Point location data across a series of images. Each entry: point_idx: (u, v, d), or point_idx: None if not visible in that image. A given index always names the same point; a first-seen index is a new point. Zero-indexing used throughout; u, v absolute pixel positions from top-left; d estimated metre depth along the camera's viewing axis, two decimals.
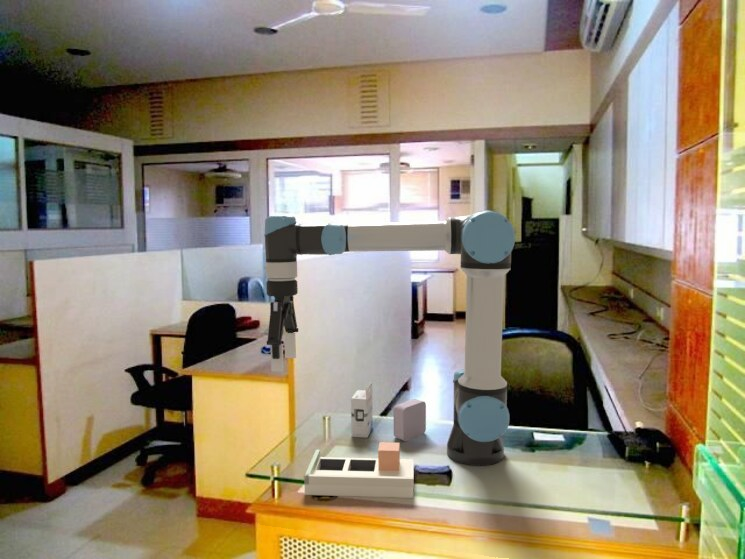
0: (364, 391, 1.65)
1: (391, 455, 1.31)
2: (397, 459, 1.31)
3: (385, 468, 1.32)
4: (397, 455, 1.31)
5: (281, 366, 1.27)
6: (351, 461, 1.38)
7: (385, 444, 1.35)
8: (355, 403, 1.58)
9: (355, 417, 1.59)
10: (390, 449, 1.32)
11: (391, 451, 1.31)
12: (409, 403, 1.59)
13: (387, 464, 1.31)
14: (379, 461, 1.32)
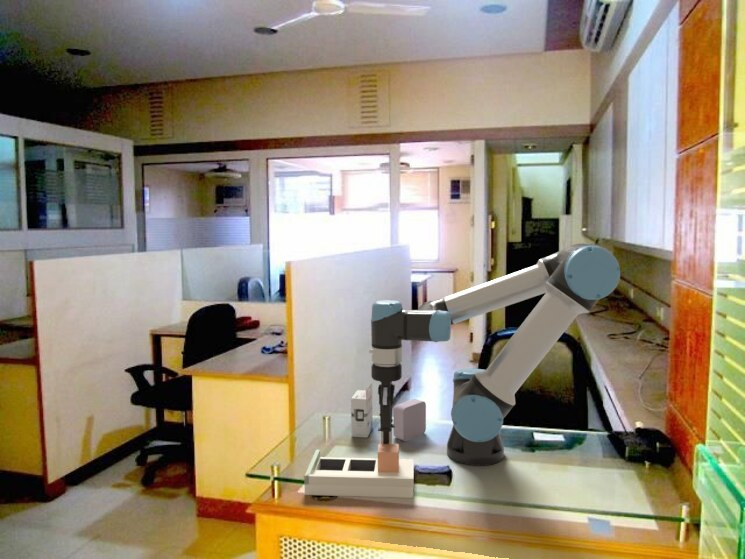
0: (364, 391, 1.65)
1: (391, 456, 1.30)
2: (396, 461, 1.30)
3: (384, 470, 1.31)
4: (396, 457, 1.30)
5: None
6: (351, 461, 1.38)
7: (384, 446, 1.34)
8: (355, 403, 1.58)
9: (355, 417, 1.59)
10: (390, 451, 1.31)
11: (391, 453, 1.30)
12: (409, 403, 1.59)
13: (387, 466, 1.31)
14: (378, 463, 1.31)
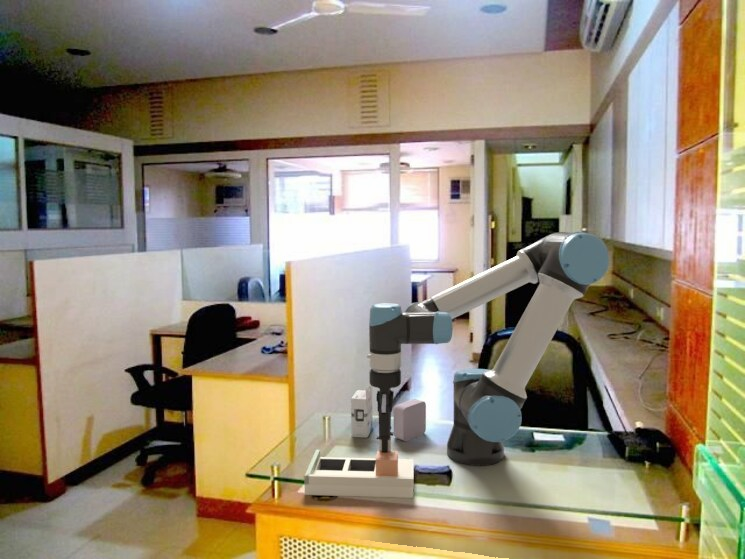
0: (364, 391, 1.65)
1: (389, 464, 1.26)
2: (395, 469, 1.26)
3: None
4: (395, 465, 1.26)
5: None
6: (351, 461, 1.38)
7: (383, 453, 1.30)
8: (355, 403, 1.58)
9: (355, 417, 1.59)
10: (388, 458, 1.26)
11: (389, 461, 1.26)
12: (409, 402, 1.59)
13: (385, 474, 1.26)
14: (376, 471, 1.26)
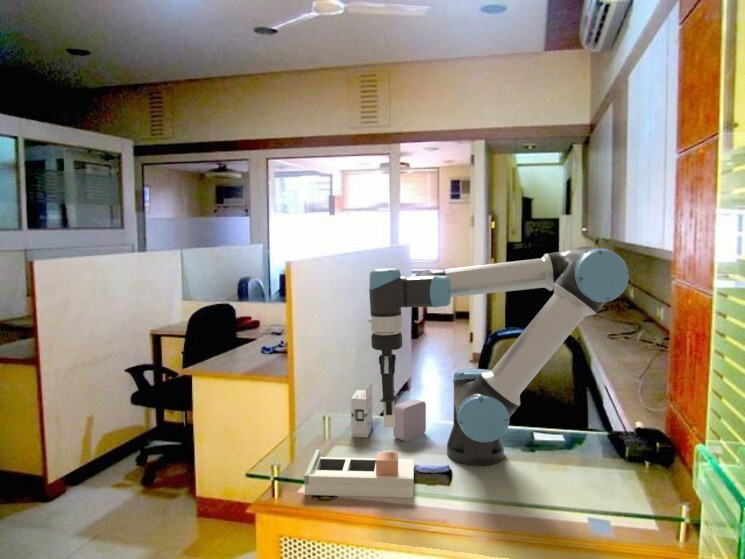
0: (364, 391, 1.65)
1: (390, 465, 1.26)
2: (396, 469, 1.26)
3: None
4: (396, 465, 1.26)
5: (393, 421, 1.33)
6: (351, 461, 1.38)
7: (383, 453, 1.29)
8: (355, 403, 1.58)
9: (355, 417, 1.59)
10: (388, 459, 1.26)
11: (390, 461, 1.26)
12: (409, 403, 1.59)
13: (385, 474, 1.26)
14: (377, 471, 1.26)
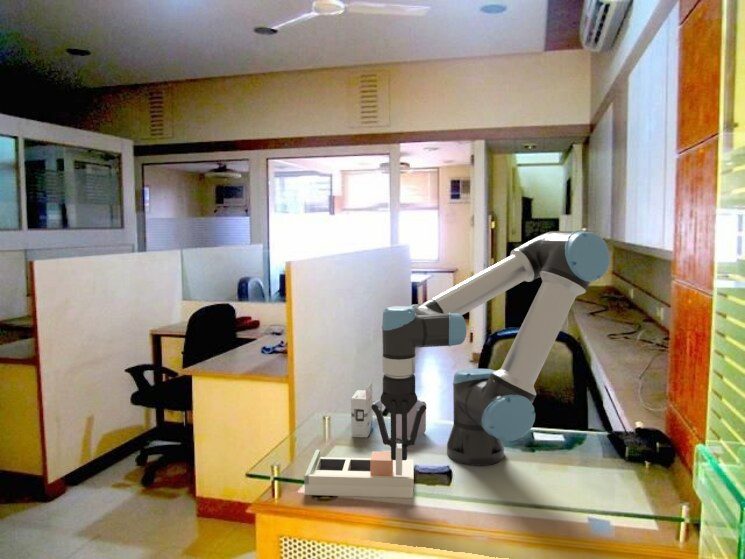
0: (364, 391, 1.65)
1: (384, 465, 1.26)
2: (390, 469, 1.26)
3: None
4: (390, 465, 1.26)
5: None
6: (351, 461, 1.38)
7: (378, 453, 1.29)
8: (355, 403, 1.58)
9: (355, 417, 1.59)
10: (383, 459, 1.26)
11: (384, 461, 1.26)
12: None
13: (380, 474, 1.26)
14: (371, 471, 1.26)
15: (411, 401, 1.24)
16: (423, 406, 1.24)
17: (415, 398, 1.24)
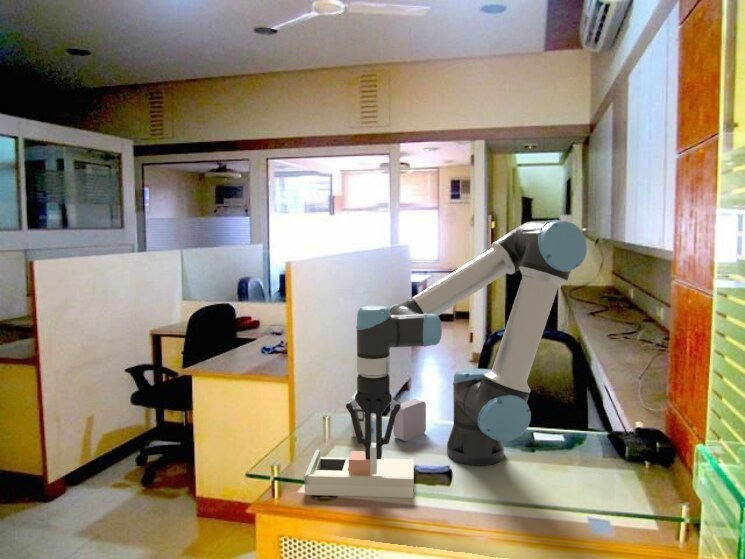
0: None
1: (362, 464, 1.26)
2: (368, 469, 1.26)
3: None
4: (368, 465, 1.26)
5: (370, 468, 1.26)
6: None
7: (357, 453, 1.30)
8: None
9: None
10: (361, 458, 1.27)
11: (362, 461, 1.26)
12: (409, 403, 1.59)
13: (358, 474, 1.26)
14: (350, 471, 1.26)
15: (385, 400, 1.24)
16: (397, 405, 1.24)
17: (389, 397, 1.24)
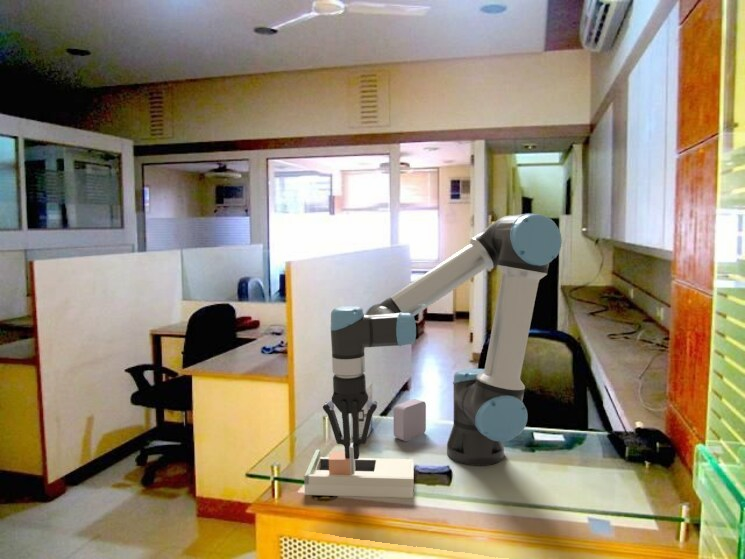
0: None
1: (342, 464, 1.26)
2: (348, 468, 1.26)
3: None
4: (348, 464, 1.26)
5: (350, 468, 1.27)
6: None
7: (337, 453, 1.30)
8: None
9: None
10: (341, 458, 1.27)
11: (342, 460, 1.26)
12: (409, 403, 1.59)
13: (339, 473, 1.27)
14: (330, 471, 1.27)
15: (361, 400, 1.25)
16: (373, 405, 1.25)
17: (365, 397, 1.25)
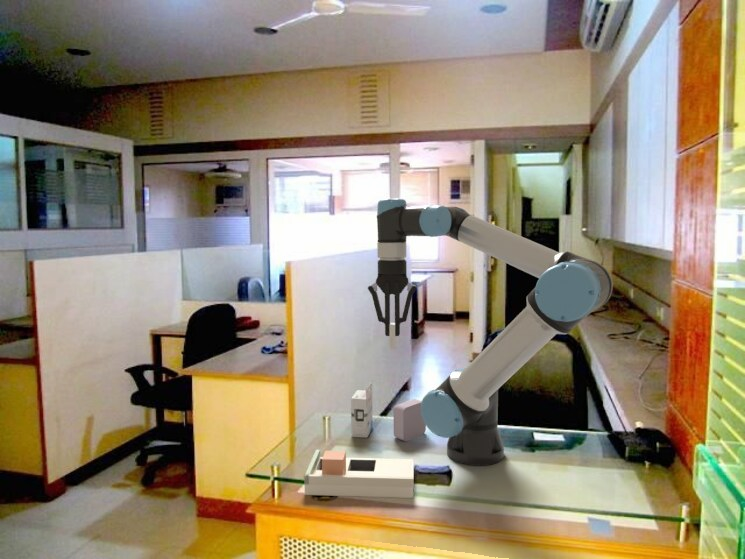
0: (364, 391, 1.65)
1: (335, 464, 1.26)
2: (341, 468, 1.26)
3: None
4: (341, 464, 1.26)
5: None
6: (351, 461, 1.38)
7: (330, 452, 1.30)
8: (355, 403, 1.58)
9: (355, 417, 1.59)
10: (334, 458, 1.27)
11: (335, 460, 1.26)
12: (409, 403, 1.59)
13: (331, 473, 1.27)
14: (323, 470, 1.27)
15: (403, 282, 1.41)
16: (413, 286, 1.40)
17: (406, 279, 1.41)
